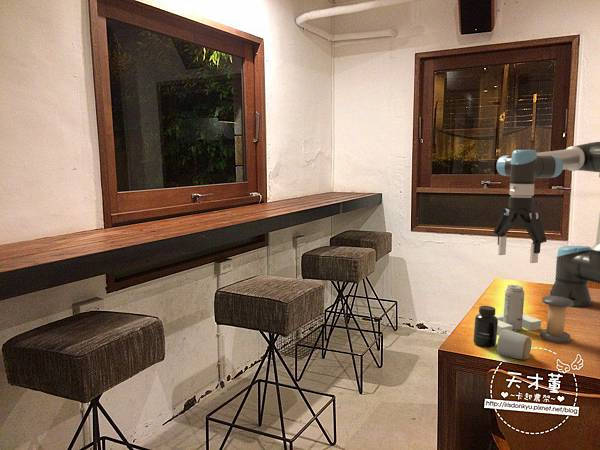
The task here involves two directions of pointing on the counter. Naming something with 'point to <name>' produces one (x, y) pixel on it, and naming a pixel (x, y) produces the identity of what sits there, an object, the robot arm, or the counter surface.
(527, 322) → the notched board
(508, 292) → the energy drink can
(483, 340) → the supplement bottle
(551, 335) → the bobbin
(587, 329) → the counter surface
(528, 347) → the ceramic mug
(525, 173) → the robot arm
